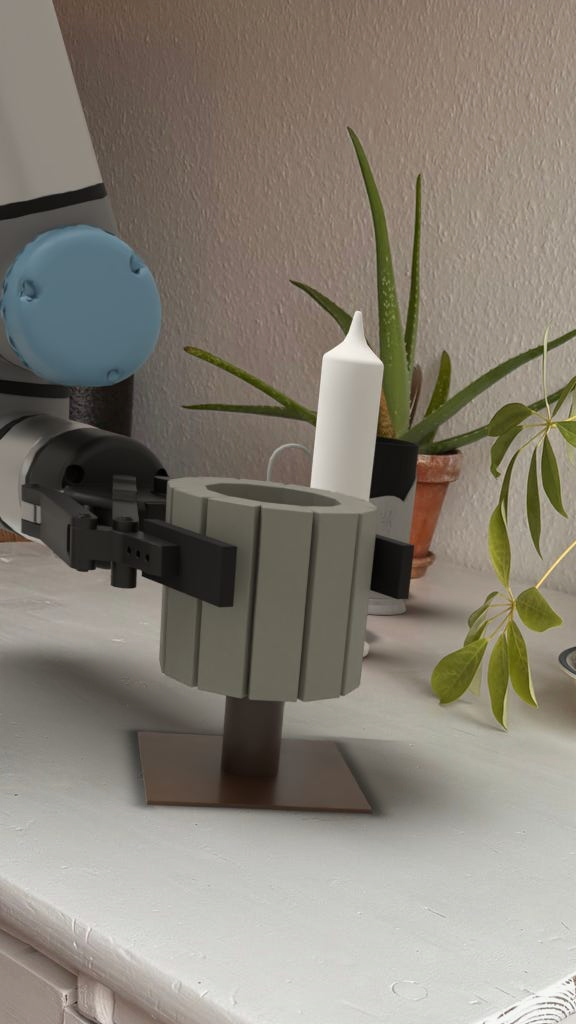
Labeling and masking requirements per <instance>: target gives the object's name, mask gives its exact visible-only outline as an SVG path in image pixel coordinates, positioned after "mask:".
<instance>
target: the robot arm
mask: <svg viewBox="0 0 576 1024" xmlns="http://www.w3.org/2000/svg"><path fill="white" fill-rule="evenodd" d="M62 34H63V33H62V30H61V27H60V24H59V20H58V16H57V12H56V10H55V6H54V3H53V0H0V529H1V530H3V531H6V532H9V533H12V534H14V535H17V536H19V537H21V538H23V539H27V540H28V541H29V540H30V541H32V542H33V543H37V544H40V545H42V546H44V547H47V548H48V549H49V551H50V556H51V557H53V558H55V559H59V560H61V561H62V562H63V563H64V564H66V565H67V566H68V567H69V568H70V569H73V570H76V571H77V572H81V573H88V572H89V571H95V570H97V569H102V570H108V571H109V570H110V587H114V588H118V589H126V590H127V589H129V590H130V589H132V590H133V589H136V588H137V584H138V583H137V578H138V571H141V577H142V578H145V579H147V580H149V581H151V582H155V583H157V584H160V585H162V586H163V585H165V586H167V587H170V588H172V589H175V590H177V591H180V592H182V593H185V594H187V595H190V596H192V597H195V598H197V599H200V600H202V601H205V602H207V603H210V604H212V605H215V606H217V607H233V603H234V588H235V573H236V558H237V546H234V545H231V544H228V543H225V542H222V541H219V540H217V539H214V538H211V537H208V536H205V535H202V534H199V533H196V532H193V531H190V530H187V529H184V528H181V527H178V526H175V525H172V524H170V523H167V522H165V521H166V499H167V482H168V481H169V480H171V479H178V477H177V478H176V477H171V476H170V475H169V474H168V472H167V470H166V468H165V466H164V464H163V463H162V461H161V460H160V458H159V457H158V456H157V455H156V454H155V452H153V450H151V449H150V448H149V447H148V446H147V445H146V444H144V443H142V442H141V441H139V440H137V439H135V438H133V437H129V436H126V435H123V434H119V433H116V432H112V431H109V430H104V429H103V428H102V429H101V428H99V427H96V426H93V425H90V424H88V423H84V422H80V421H76V420H71V419H70V397H71V387H74V386H75V387H82V388H84V387H85V388H99V387H107V386H114V385H115V384H118V383H120V382H122V381H124V380H126V379H128V378H130V377H131V376H132V375H134V374H135V373H137V372H138V371H139V370H140V369H141V368H142V367H143V366H144V364H146V362H147V361H148V360H149V358H150V357H151V356H152V354H153V352H154V350H155V348H156V346H157V342H158V340H159V336H160V332H161V326H162V316H163V315H162V309H163V308H162V302H161V296H160V292H159V289H158V286H157V283H156V280H155V278H154V276H153V274H152V273H151V270H150V268H149V267H148V266H147V265H146V263H145V262H144V260H143V259H142V257H141V256H140V255H139V254H138V253H137V252H136V251H135V250H134V249H133V248H132V247H131V246H129V245H128V243H126V242H124V241H123V240H122V239H121V236H120V233H119V229H118V225H117V222H116V219H115V216H114V211H113V208H112V205H111V201H110V199H109V195H108V193H107V192H108V191H107V189H106V185H105V183H104V181H103V178H102V174H101V170H100V167H99V163H98V159H97V156H96V153H95V149H94V145H93V142H92V141H93V140H92V138H91V134H90V131H89V127H88V124H87V123H88V122H87V120H86V117H85V112H84V109H83V105H82V103H81V102H82V101H81V99H80V95H79V92H78V88H77V84H76V81H75V76H74V74H73V69H72V67H71V62H70V59H69V55H68V52H67V49H66V44H65V42H64V37H63V35H62ZM414 553H415V544H411V543H409V544H408V543H404V542H401V541H398V540H394V539H391V538H388V537H384V536H381V535H378V534H376V537H375V547H374V556H373V566H372V575H371V585H370V590H371V591H374V592H377V593H380V594H383V595H386V596H389V597H392V598H395V599H403V600H409V597H410V586H411V578H412V571H413V563H414V561H413V560H414Z"/></svg>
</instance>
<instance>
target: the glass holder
mask: <svg viewBox="0 0 576 1024" xmlns="http://www.w3.org/2000/svg"><path fill="white" fill-rule="evenodd" d="M287 449H298V450H301V451H302V452H303V453H304V454H305V455H306V456H307V458H308V460H309V462H310V466H311V467H312V465H313V454H312V452H311V451H310V450H309V449H308V448H307V447H306V446H304V445H302V444H298V443H285V444H283V445H281V446H279V447H278V448H276V449H275V450H274V451H273V453H272V454H271V456H270V457H269V461H268V465H267V469H266V481H268V482H273V469H274V463H275V460H276V458H277V457H278V455H279V454H280V453H281V452H283V451H284V450H287ZM419 449H420V444H418V443H414V442H412V441H408V440H403V439H399V438H392V437H388V436H387V437H386V436H380V435H376V442H375V451H374V460H373V469H372V478H371V487H370V496H369V502H370V503H372V504H373V505H374V506H376V507H377V508H378V518H377V528H376V534H378V535H381V536H384V537H388V538H391V539H394V540H398V541H401V542H404V543H408V544H410V539H411V533H412V525H413V517H414V516H413V515H414V507H415V498H416V491H417V483H418V472H417V467H418V459H419ZM406 611H407V608H406V604H405V602H404V599H395V598H392V597H389V596H386V595H383V594H380V593H377V592H374V591H371V590H370V594H369V604H368V613H367V615H374V616H395V615H401V614H404V613H406Z"/></svg>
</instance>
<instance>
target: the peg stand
mask: <svg viewBox="0 0 576 1024" xmlns="http://www.w3.org/2000/svg"><path fill="white" fill-rule="evenodd" d="M285 703H286V702H283V701H265V700H250V699H249V697H248V695H247V696H245V697H243V698H236V697H231V696H226V695H225V704H224V715H223V716H224V717H223V728H222V729H223V732H222V735H210V734H194V733H193V734H192V733H173V732H158V731H157V732H156V731H139V730H138V731H137V740H138V741H137V742H138V748H139V757H140V764H141V772H142V779H143V780H142V781H143V787H144V788H143V789H144V795H145V804H146V805H147V806H169V807H170V806H172V807H195V808H196V807H197V808H199V807H200V808H219V809H220V808H221V809H222V808H224V809H225V808H226V809H245V810H246V809H249V810H271V811H272V810H273V811H296V812H297V811H301V812H321V813H348V814H349V813H350V814H373V809H372V807H371V805H370V804H369V802H368V800H367V798H366V796H365V794H364V792H363V790H362V789H361V788H360V786H359V784H358V783H357V781H356V779H355V777H354V775H353V774H352V771H351V770H350V768H349V766H348V764H347V763H346V761H345V758H344V757H343V756H342V753H341V752H340V750H339V749H338V746H337V745H336V742H334V741H316V740H301V739H300V740H299V739H284V738H283V739H282V737H283V724H284V714H285Z"/></svg>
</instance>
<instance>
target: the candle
mask: <svg viewBox="0 0 576 1024" xmlns="http://www.w3.org/2000/svg"><path fill="white" fill-rule="evenodd" d="M384 369H385V366H384V363H383V361H382V360H381V359H380V358H379V357H378V356H377V355H376V354H375V352H374V351H373V349H371V348H370V346H369V345H368V343H367V339H366V336H365V330H364V320H363V312H362V311H360V310H355V312H354V314H353V318H352V320H351V324H350V327H349V330H348V333H347V335H346V336H345V337H344V339H343V341H341V343H339V344H338V345H336V346H335V347H333V348H332V349H330V350H329V351H327V352H326V353H324V354H323V356H322V362H321V371H320V382H319V383H320V384H319V391H318V392H319V393H318V403H317V413H316V424H315V435H314V446H313V454H312V455H313V465H312V466H311V474H310V475H311V477H310V486H309V487H310V488H316V489H322V490H328V491H331V492H337V493H341V494H345V495H349V496H352V497H356V498H360V499H363V500H366V501H369V496H370V487H371V478H372V469H373V460H374V451H375V442H376V436H377V431H378V425H379V424H378V423H379V415H380V414H379V413H380V406H381V398H382V397H381V396H382V387H383V378H384V371H385V370H384ZM369 649H370V645H369V643H368V642H367V641H366V640H365V642H364V652H363V658H364V657H366V656H367V655H368V654H369Z"/></svg>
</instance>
